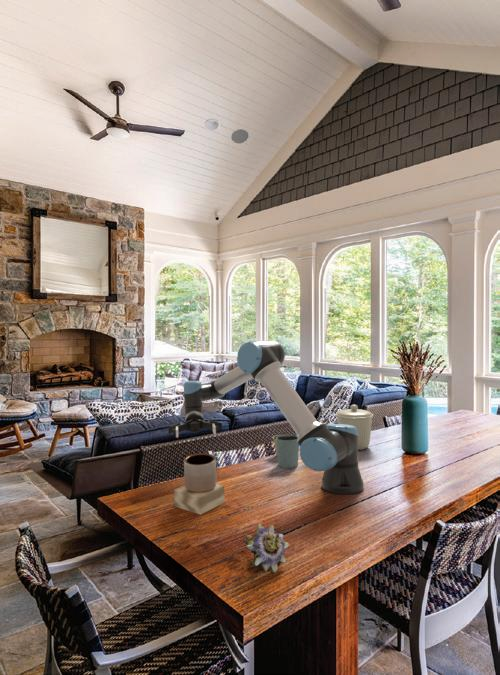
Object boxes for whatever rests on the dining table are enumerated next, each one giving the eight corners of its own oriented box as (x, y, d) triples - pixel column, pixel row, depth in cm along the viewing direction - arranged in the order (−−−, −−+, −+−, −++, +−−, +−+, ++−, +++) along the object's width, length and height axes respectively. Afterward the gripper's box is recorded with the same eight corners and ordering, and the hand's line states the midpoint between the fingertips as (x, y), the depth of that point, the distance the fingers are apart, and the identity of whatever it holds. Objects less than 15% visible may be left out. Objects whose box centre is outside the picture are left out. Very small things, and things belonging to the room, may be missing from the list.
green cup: (273, 467, 189) (272, 439, 189) (280, 460, 198) (280, 434, 198) (296, 469, 185) (295, 441, 185) (302, 462, 194) (302, 435, 194)
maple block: (224, 503, 152) (224, 485, 152) (200, 515, 142) (200, 496, 142) (198, 496, 159) (198, 479, 159) (174, 507, 149) (173, 489, 149)
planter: (223, 483, 152) (222, 456, 151) (204, 496, 143) (203, 467, 142) (197, 476, 158) (196, 450, 157) (177, 489, 149) (176, 461, 148)
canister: (345, 441, 230) (344, 400, 229) (379, 445, 219) (378, 403, 219) (329, 449, 215) (328, 406, 215) (365, 454, 204) (364, 409, 204)
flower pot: (292, 459, 201) (291, 440, 200) (271, 458, 202) (270, 439, 202) (294, 453, 210) (293, 435, 210) (274, 452, 212) (273, 434, 211)
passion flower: (274, 593, 108) (259, 567, 101) (243, 569, 115) (227, 544, 109) (301, 554, 113) (288, 528, 107) (270, 534, 121) (256, 508, 115)
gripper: (225, 428, 183) (230, 439, 162) (163, 433, 179) (161, 445, 158) (224, 410, 183) (229, 419, 162) (163, 414, 179) (160, 424, 158)
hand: (196, 432), depth 160 cm, fingers open, 13 cm apart
